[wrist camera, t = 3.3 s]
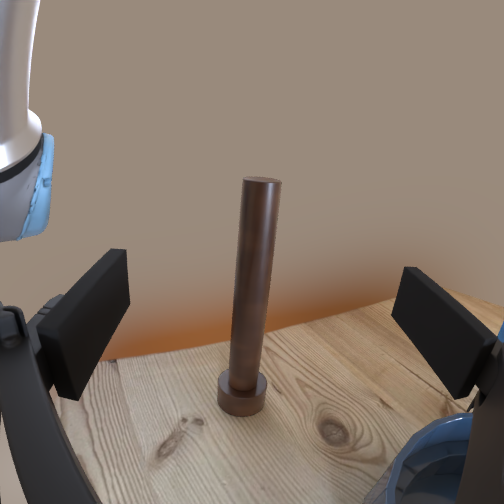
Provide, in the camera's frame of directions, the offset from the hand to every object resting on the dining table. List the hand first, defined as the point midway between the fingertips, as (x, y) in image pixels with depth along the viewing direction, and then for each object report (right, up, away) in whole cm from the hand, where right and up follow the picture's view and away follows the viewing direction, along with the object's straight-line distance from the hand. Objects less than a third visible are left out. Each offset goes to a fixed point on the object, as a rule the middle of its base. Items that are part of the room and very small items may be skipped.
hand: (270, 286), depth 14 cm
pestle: (-2, -12, +14) cm, 18 cm away
